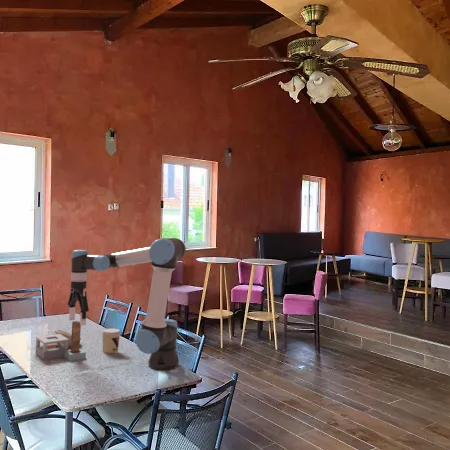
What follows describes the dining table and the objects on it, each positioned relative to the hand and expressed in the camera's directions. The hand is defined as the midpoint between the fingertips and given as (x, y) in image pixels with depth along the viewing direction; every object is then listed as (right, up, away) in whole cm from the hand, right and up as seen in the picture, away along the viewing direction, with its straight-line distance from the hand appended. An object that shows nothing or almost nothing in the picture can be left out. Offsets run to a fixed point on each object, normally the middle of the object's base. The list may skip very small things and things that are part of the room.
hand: (77, 322), depth 218 cm
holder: (-1, -19, 0) cm, 19 cm away
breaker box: (-14, -18, +2) cm, 23 cm away
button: (-14, -17, +2) cm, 22 cm away
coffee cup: (+13, -20, +14) cm, 27 cm away
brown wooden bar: (-1, -18, 0) cm, 18 cm away
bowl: (-13, -18, +21) cm, 30 cm away
